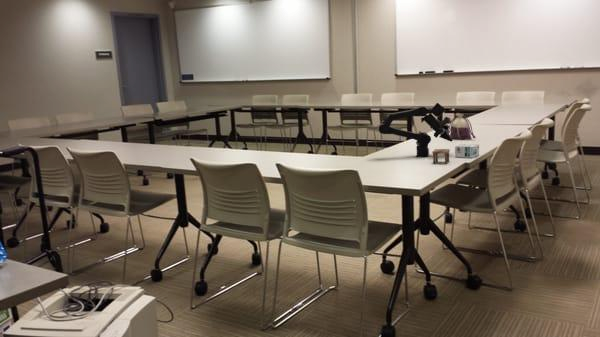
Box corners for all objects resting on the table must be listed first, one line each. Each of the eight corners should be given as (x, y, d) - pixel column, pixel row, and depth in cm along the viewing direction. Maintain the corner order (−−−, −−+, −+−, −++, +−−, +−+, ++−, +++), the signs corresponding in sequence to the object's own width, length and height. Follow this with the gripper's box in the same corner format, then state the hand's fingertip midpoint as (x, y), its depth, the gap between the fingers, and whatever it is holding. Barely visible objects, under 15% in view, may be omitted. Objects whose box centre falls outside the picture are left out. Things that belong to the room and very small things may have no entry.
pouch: (441, 139, 378) (441, 113, 374) (447, 137, 383) (447, 111, 380) (474, 141, 360) (473, 113, 356) (479, 139, 366) (479, 112, 362)
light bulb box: (454, 157, 306) (473, 158, 299) (454, 145, 305) (473, 146, 298) (461, 154, 314) (479, 155, 308) (461, 143, 313) (479, 143, 306)
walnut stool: (432, 163, 292) (432, 151, 291) (435, 161, 299) (435, 149, 298) (447, 164, 288) (447, 151, 287) (449, 161, 296) (449, 149, 294)
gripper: (439, 114, 301) (459, 133, 298) (446, 111, 318) (464, 129, 315) (425, 128, 306) (445, 147, 303) (433, 124, 323) (451, 142, 320)
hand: (452, 140), depth 310 cm, fingers closed
